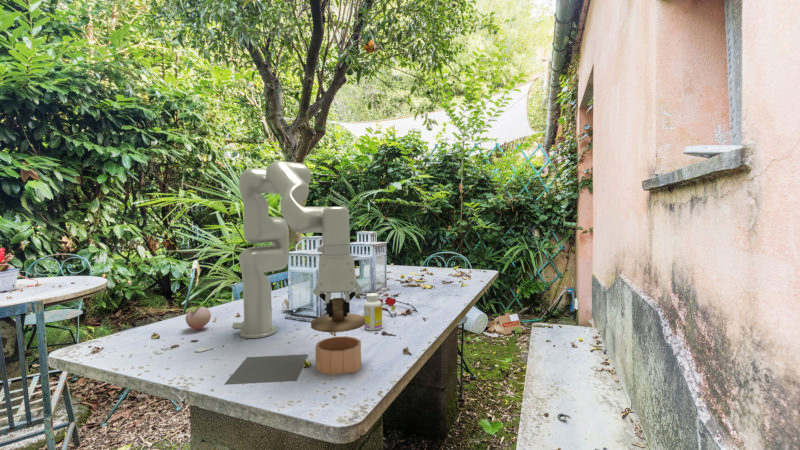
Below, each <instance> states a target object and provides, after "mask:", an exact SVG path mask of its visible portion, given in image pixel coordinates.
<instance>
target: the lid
mask: <svg viewBox="0 0 800 450" xmlns="http://www.w3.org/2000/svg"><path fill="white" fill-rule="evenodd" d="M344 299H345V297H343V298H333V299H331V303H332V317H331V318H329V314H326V315H321V316H318V317H316V318H314V319H313V320H311V321H310V328H311V329H312V330H314V331H317V332H321V333H342V332H348V331H354V330H357V329H359V328H362V327H365V317H364V315H360V314H356V313H347V317H344V301H345V300H344Z"/></svg>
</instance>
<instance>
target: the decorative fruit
mask: <svg viewBox="0 0 800 450" xmlns="http://www.w3.org/2000/svg"><path fill="white" fill-rule="evenodd" d="M211 317H212V314H211V311H210V310H209V309H208V308H207V307H205V306H203V305H199V304H198V303H196V306H194V307H192V308H191V309H189V311H188V312H187V314H186V316H185V323H186V324H187V326H188V327H189V328H190V329H192V330H195V331H200V330H201V329H202V328H204V327H205V326H207V324H208V323H210V320H211Z"/></svg>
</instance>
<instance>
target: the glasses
mask: <svg viewBox="0 0 800 450" xmlns="http://www.w3.org/2000/svg"><path fill="white" fill-rule="evenodd" d="M384 299H385V300H384ZM378 300H379V301H381V303H382V307H383V306H384V303H383V300H384V302H385V304H386V306H389V307H390V306H391V305H393V306H394V305H395V304H396V303H400V304H403V305H407V306H411V307H412V308H413V310H414V311H415V312H416V313H418V310H417V309H416V307H414V306H413V305H412V304H409V303H406V302H403V301H398V300H397V299H396V297H395V296H393V297H391V296H387V297H384V298H378ZM391 307H392V306H391ZM382 311H387V313H388V315H390V317H391V318H394V316H393V315H392V313H391V312H390V311H389V310H388V309H385V308H382Z"/></svg>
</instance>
